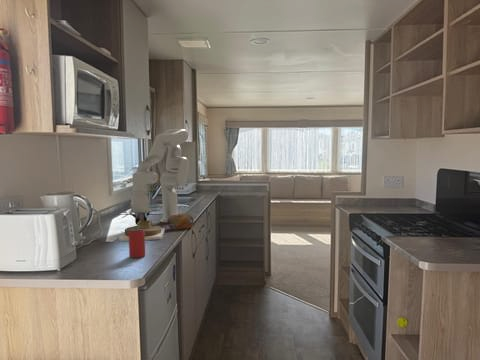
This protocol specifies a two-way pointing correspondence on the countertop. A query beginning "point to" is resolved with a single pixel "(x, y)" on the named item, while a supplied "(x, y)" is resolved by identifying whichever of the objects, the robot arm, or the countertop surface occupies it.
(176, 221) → the tin
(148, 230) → the dial
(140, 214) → the grey rounded cylinder
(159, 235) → the dial base
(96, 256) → the countertop surface
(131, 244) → the beer can
